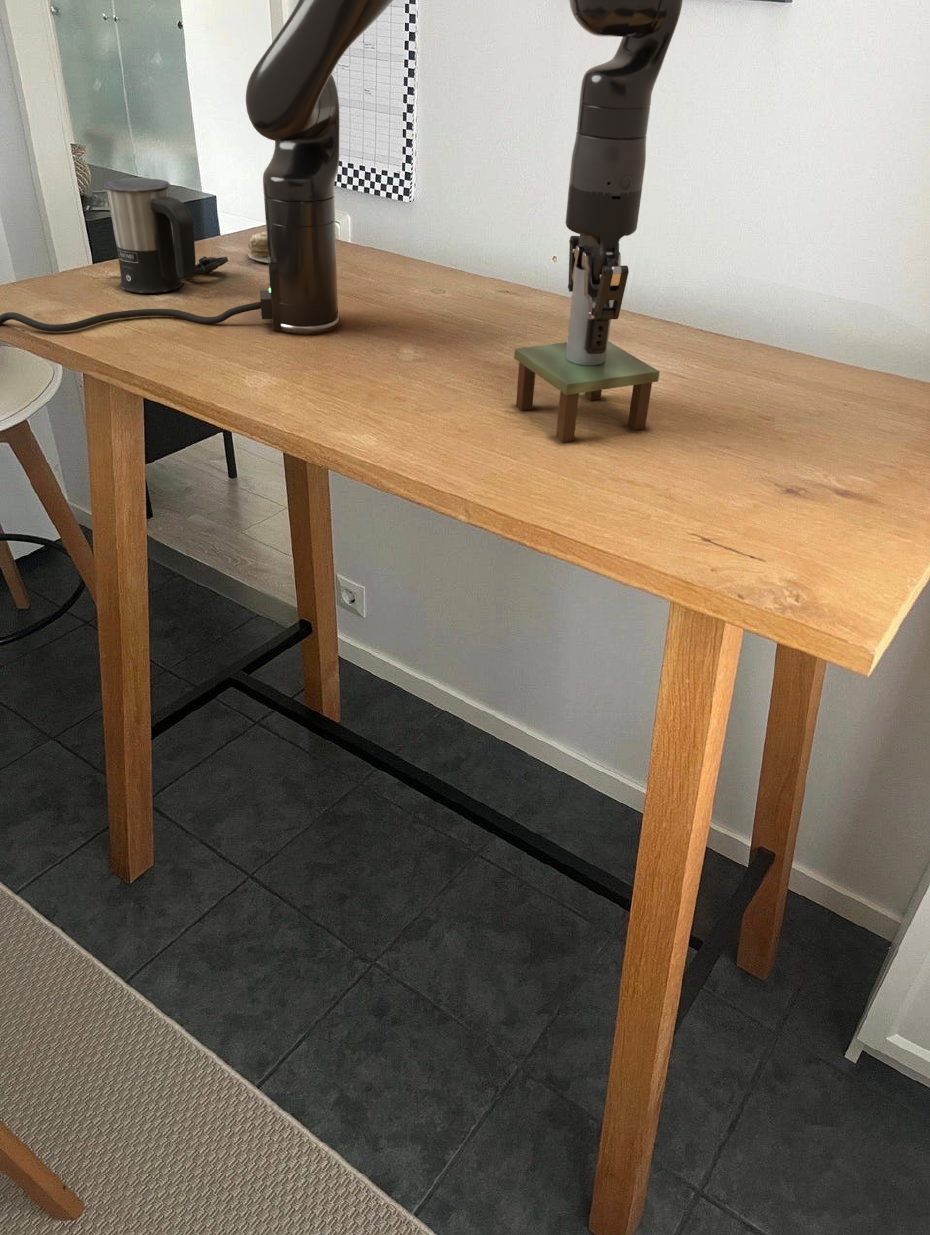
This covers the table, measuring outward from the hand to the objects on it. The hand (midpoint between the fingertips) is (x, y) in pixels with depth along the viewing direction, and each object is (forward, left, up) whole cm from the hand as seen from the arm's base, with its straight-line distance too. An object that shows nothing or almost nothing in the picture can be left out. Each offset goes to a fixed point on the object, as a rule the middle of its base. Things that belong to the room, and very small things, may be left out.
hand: (587, 343), depth 111 cm
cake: (-33, +72, -9) cm, 80 cm away
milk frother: (-49, +58, -9) cm, 76 cm away
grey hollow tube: (0, 0, -2) cm, 2 cm away
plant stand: (0, 0, -9) cm, 9 cm away
